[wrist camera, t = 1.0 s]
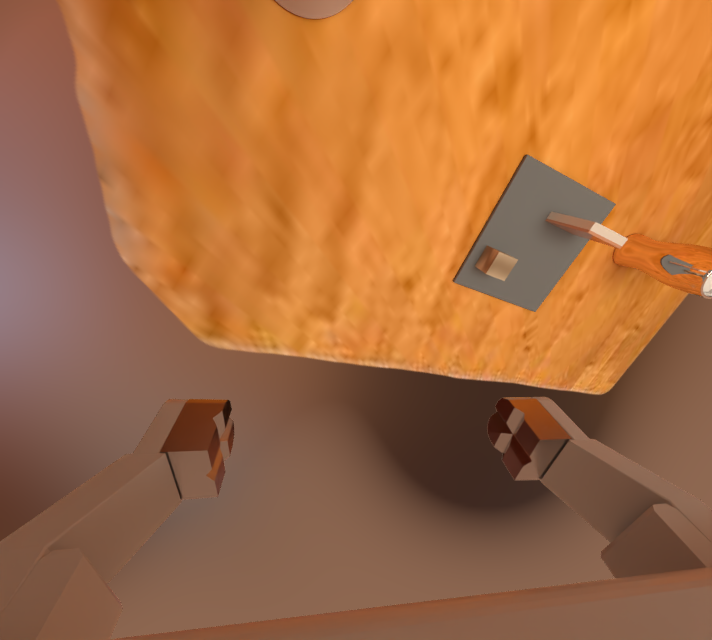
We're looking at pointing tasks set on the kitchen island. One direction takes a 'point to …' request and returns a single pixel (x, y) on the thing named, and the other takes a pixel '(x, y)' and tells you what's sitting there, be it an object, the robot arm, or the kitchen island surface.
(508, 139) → the kitchen island surface
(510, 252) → the mat
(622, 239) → the tile
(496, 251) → the beech cube
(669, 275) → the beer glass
